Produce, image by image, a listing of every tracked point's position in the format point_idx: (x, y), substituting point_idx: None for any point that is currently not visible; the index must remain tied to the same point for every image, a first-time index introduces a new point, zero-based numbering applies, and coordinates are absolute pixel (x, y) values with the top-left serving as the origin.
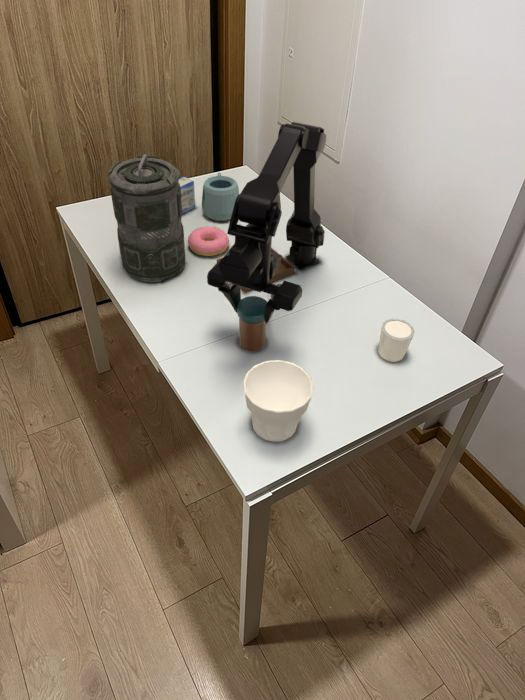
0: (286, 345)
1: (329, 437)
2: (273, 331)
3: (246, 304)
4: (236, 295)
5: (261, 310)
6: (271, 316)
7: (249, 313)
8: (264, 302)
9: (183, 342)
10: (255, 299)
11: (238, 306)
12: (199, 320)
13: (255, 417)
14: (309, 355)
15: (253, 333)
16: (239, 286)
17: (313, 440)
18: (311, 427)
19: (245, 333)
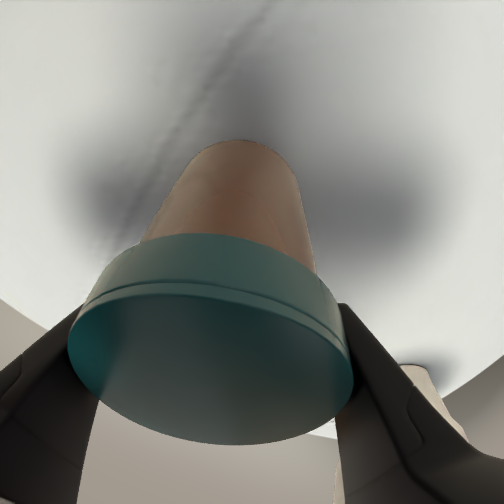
0: (390, 155)
1: (477, 366)
2: (303, 84)
3: (145, 396)
4: (57, 443)
5: (294, 413)
6: (367, 332)
7: (224, 436)
8: (281, 350)
9: (57, 287)
10: (162, 341)
11: (120, 412)
12: (15, 187)
13: None
14: (475, 181)
15: None
16: (3, 456)
17: (451, 380)
18: (453, 367)
19: None
